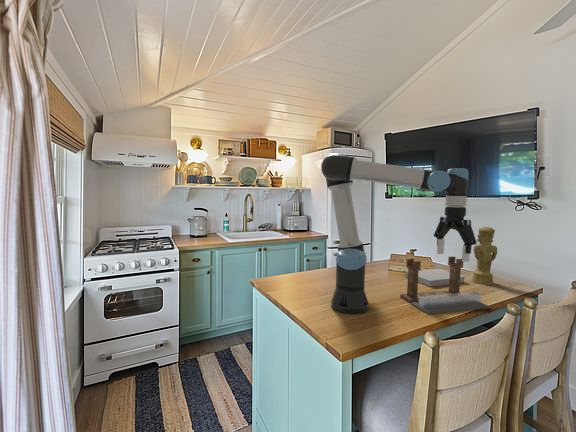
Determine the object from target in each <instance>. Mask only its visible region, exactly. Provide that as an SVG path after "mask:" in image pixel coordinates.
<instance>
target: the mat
mask: <svg viewBox="0 0 576 432" xmlns="http://www.w3.org/2000/svg"><path fill="white" fill-rule="evenodd" d="M410 305H411V306H413V307H415V308H416V309H418V310H419V311H422V312H423V313H425V314H426V315H431V314H442V313H451V312H463V311H473V310H483V309H490V308H491V307H490V305H487V304H486V303H483V302H481V303H477V304H466V305H455V306H444V307H434V308H422V307H420V306H419V302H413V303H410Z"/></svg>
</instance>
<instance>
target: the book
mask: <svg viewBox="0 0 576 432" xmlns="http://www.w3.org/2000/svg"><path fill="white" fill-rule="evenodd" d="M404 277H405V278H406V279H408V271H406V272H404ZM449 277H450V270H449V271H448V270H445V269H442V268H433V269H432V268H431V269H422V270H421V269H420V270H418V284H419V283H420V284H422V285H424V286H427V287H430V288H432V287H439V286H440V287H441V286H447V285H448V286H449ZM465 278H466V276H465V275H461V274H460V284H463V282H464V283H465Z"/></svg>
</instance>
